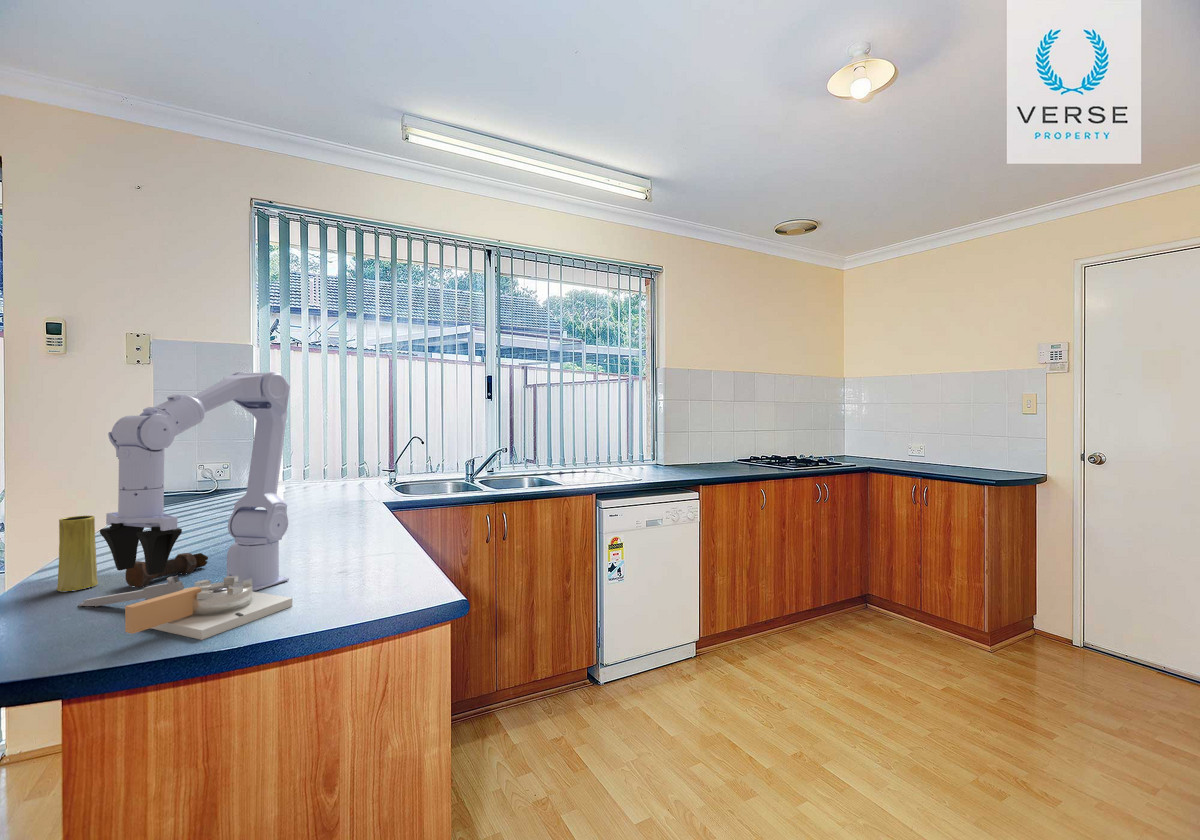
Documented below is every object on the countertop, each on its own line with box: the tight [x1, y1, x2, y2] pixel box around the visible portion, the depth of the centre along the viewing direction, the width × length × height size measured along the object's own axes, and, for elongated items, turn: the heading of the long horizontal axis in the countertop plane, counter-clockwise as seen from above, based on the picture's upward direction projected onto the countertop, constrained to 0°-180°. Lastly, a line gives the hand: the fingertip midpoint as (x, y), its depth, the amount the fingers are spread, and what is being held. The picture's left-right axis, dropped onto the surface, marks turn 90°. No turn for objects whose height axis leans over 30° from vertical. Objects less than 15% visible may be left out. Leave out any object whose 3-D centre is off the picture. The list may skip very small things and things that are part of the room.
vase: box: [56, 515, 99, 592], centre depth 110 cm, size 6×6×14 cm
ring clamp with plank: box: [124, 575, 253, 634], centre depth 91 cm, size 18×10×4 cm, turn 159°
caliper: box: [78, 574, 185, 607], centre depth 99 cm, size 20×1×6 cm, turn 85°
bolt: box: [125, 552, 209, 588], centre depth 118 cm, size 6×5×15 cm
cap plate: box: [150, 591, 293, 641], centre depth 95 cm, size 16×16×2 cm
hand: (140, 571), depth 89 cm, fingers open, 7 cm apart
